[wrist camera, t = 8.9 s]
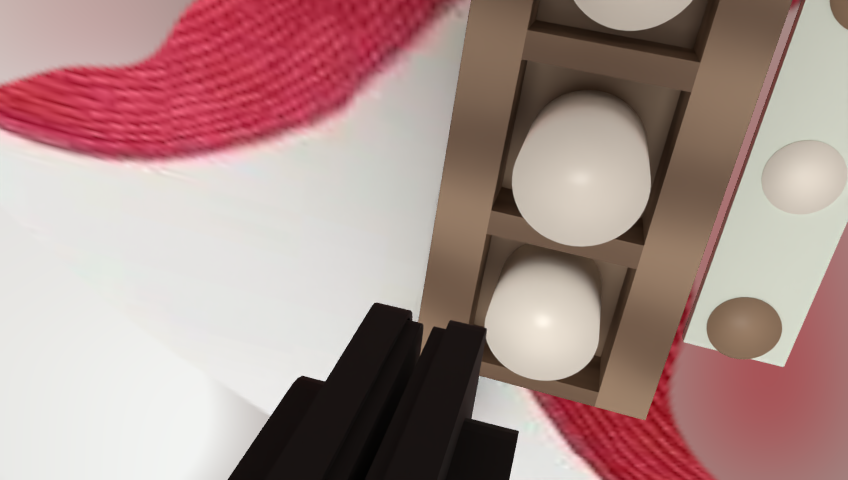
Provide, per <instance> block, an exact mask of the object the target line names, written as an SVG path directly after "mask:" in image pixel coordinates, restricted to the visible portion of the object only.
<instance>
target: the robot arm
mask: <svg viewBox="0 0 848 480" xmlns="http://www.w3.org/2000/svg"><path fill="white" fill-rule="evenodd" d="M423 329H424V328H423V323H418V322H414V321H412V312H411V311H410V310H406V309H402V308H398V307H393V306H389V305H385V304H380V303H374V304H373V305H372V307H371V308H370V310H369V312H368V313H367V315H366V317H365V318H364V320H363V321H362V323H361V325H360V326H359V328H358V330H357V331H356V333H355V334H354V336H353V338H352V339H351V341H350V343H349V344H348V346H347V347H346V349H345V351H344V352H343V354H342V356H341V357H340V359H339V360H338V362H337V364H336V365H335V367H334V369H333V370H332V372H331V373H330V375H329V377H328V378H327V380H326V382H325V381H321V380H317V379H313V378H309V377H305V376H301V377H299V378H297V380H296V381H295V382H294V383H293V384H292V386H291V387H290V389H289V390H288V391H287V393H286V394H285V396H284V397H283V399H282V400H281V402H280V403H279V405H278V406H277V408H276V409H275V411H274V412H273V414H272V415H271V416H270V418H269V419H268V421H267V422H266V424H265V425H264V427H263V428H262V430H261V431H260V433H259V435H258V436H257V437H256V439H255V440H254V442H253V443H252V444H251V446H250V448H249V449H248V451H247V452H246V453H245V455H244V456H243V458H242V459H241V461H240V462H239V464H238V465H237V467H236V468H235V470H234V471H233V473H232V474H231V475H230V477H229V478H228V480H509V478H510V473H511V468H512V463H513V458H514V453H515V448H516V443H517V438H518V433H519V431H516V430H512V429H508V428H504V427H501V426H497V425H493V424H489V423H485V422H481V421H477V420H473V419H471V418H472V412H473V407H474V401H475V395H476V390H477V384H478V379H479V373H480V368H481V362H482V357H483V351H484V346H485V340H486V334H487V328H483V327H479V326H475V325H470V324H466V323H462V322H458V321H453V320H450V321H449V323H448V325H447V327H446V329H444V328H440V327H435V326H434V327H433V328H432V330H431V332H430V335H429V337H428V339H427V341H426V344H425V346H424V348H423V350H422V353H421V345H422V337H423ZM420 353H421V355H420Z"/></svg>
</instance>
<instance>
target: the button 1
mask: <svg viewBox="0 0 848 480" xmlns="http://www.w3.org/2000/svg"><path fill="white" fill-rule="evenodd" d="M601 295H602V281H601V276H600V273H599V271H598V268H597V267H596V265H595V263H594V262H593V260H592V259H591V258H587V257H583V256H578V255H574V254H570V253H566V252H561V251H557V250H553V249H549V248H545V247H540V246H536V245H532V244H528V243H527V244H525V245H523V246H521V247H520V248H518V249H517V250H515V251H514V252H513V253H512V254H511V255H510V256H509V257H508V259H507V260H506V262H505V264H504V266H503V268H502V271H501V274H500V277H499V280H498V282H497V285H496V288H495V291H494V294H493V297H492V300H491V303H490V306H489V308H488V311H487V315H486V318H485V328H487V334H486V340H487V343H488V345H489V348H490V350H491V351H492V353H493V354H494V356H495V357H496V358H497V359H498V361H500V362H501V363H502V364H503V365H504V366H505V367H507V368H508V369H509V370H511V371H513V372H514V373H516V374H518V375H521V376H523V377H526V378H529V379H534V380H542V381H552V380H559V379H563V378H566V377H569V376H572V375H573V374H575V373H577V372H579V371H580V370H582V369H583V368H584V367H585V366H586V365H587V364H588V363H589V362H590V360H591V359H592V358H593V356H594V354H595V352H596V349H597V347H598V342H599V329H600V312H601Z"/></svg>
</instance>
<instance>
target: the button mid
mask: <svg viewBox="0 0 848 480" xmlns="http://www.w3.org/2000/svg"><path fill="white" fill-rule="evenodd" d="M650 188H651V175H650V165H649V155H648V145H647V137H646V132H645V129H644V126H643V124H642V122H641V120H640V118H639V117H638V115H637V114H636V112H635V111H634V110H633V109H632V108H631V107H630V106H629V105H628V104H627V103H625V102H624V101H623V100H621V99H619V98H618V97H616V96H614V95H611V94H609V93H605V92H602V91H596V90H580V91H574V92H570V93H567V94H564V95H562V96H560V97H558V98H556V99H554V100H553V101H551V102H550V103H549V104H547V105H546V106H545V107H544V108H543V109H542V110H541V111H540V112H539V114H538V115H537V116H536V118H535V120H534V121H533V123H532V125H531V127H530V130H529V132H528V134H527V137H526V139H525V141H524V143H523V146H522V148H521V150H520V152H519V155H518V157H517V159H516V161H515V165H514V168H513V175H512V189H513V195H514V199H515V202H516V205H517V207H518V209H519V211H520V213H521V214H522V216H523V218H524V219H525V220H526V221H527V223H528V224H529V225H530V226H531V227H532V228H533V229H534V230H536V231H537V232H538V233H540V234H541V235H543V236H544V237H546V238H548V239H550V240H552V241H555V242H557V243H561V244H564V245H570V246H581V247H583V246H593V245H599V244H602V243H605V242H608V241H611V240H613V239H615V238H617V237H618V236H620V235H622V234H623V233H625V232H626V231H627V230H628V229H630V228H631V227H632V226H633V225H634V224H635V223H636V221H637V220H638V219H639V217H640V216H641V214H642V213H643V211H644V209H645V207H646V204H647V202H648V199H649V194H650Z"/></svg>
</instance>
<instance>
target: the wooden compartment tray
mask: <svg viewBox="0 0 848 480" xmlns="http://www.w3.org/2000/svg"><path fill="white" fill-rule="evenodd" d="M791 3H792V0H692V2H691V3H690V4H689V5H688V6H687V7H686V8H685V9H684V10H683V11H682V12H680V13H679V14H678V15H676V16H675V17H674V18H672V19H670V20H668V21H667V22H665V23H663V24H660V25H658V26H655V27H652V28H648V29H644V30H637V31H624V30H617V29H613V28H609V27H606V26H604V25H601V24H599V23H597V22H596V21H594V20H592V19H591V18H590V17H588V16H587V15H586V14H585V13H584V12H583V11H582V10H581V9H580V8H579V7H578V6H577V4H576V3H575V1H574V0H471V4H470V10H469V16H468V22H467V28H466V34H465V40H464V46H463V53H462V59H461V65H460V71H459V77H458V83H457V89H456V95H455V101H454V107H453V113H452V120H451V126H450V132H449V138H448V144H447V150H446V156H445V162H444V168H443V174H442V180H441V187H440V193H439V199H438V205H437V211H436V217H435V223H434V229H433V235H432V241H431V247H430V254H429V260H428V266H427V272H426V278H425V284H424V290H423V296H422V302H421V308H420V314H419V321H418V323H423V328H424V329H423V337H422V345H421V353H422V350H423V348H424V346H425V344H426V341H427V339H428V337H429V335H430V332H431V330H432V328H433V327H434V326H435V327H440V328H444V329H446V327H447V325H448V323H449V321H450V320H453V321H458V322H462V323H466V324H470V325H475V326H479V327H483V328H485V318H486V315H487V311H488V308H489V306H490V303H491V300H492V297H493V294H494V291H495V288H496V285H497V282H498V280H499V277H500V274H501V271H502V268H503V266H504V264H505V262H506V260H507V259H508V257H509V256H510V255H511V254H512V253H513V252H514V251H515V250H517V249H518V248H520V247H521V246H523V245H525V244H527V243H528V244H532V245H536V246H540V247H545V248H549V249H553V250H557V251H561V252H566V253H570V254H574V255H578V256H583V257H587V258H591V259H592V260H593V262H594V263H595V265H596V267H597V268H598V271H599V273H600V276H601V281H602V295H601V312H600V329H599V342H598V347H597V349H596V352H595V354H594V356H593V358H592V359H591V360H590V362H589V363H588V364H587V365H586V366H585V367H584V368H583V369H582V370H580V371H579V372H577V373H575V374H573V375H572V376H569V377H566V378H563V379H559V380H552V381H542V380H534V379H529V378H526V377H523V376H521V375H518V374H516V373H514V372H513V371H511V370H509V369H508V368H507V367H505V366H504V365H503V364H502V363H501V362H500V361H498V359H497V358H496V357H495V356H494V354H493V353H492V351H491V350H490V348H489V345H488V343H487V340H485V346H484V351H483V357H482V362H481V368H480V373H479V376H483V377H487V378H490V379H494V380H498V381H501V382H505V383H509V384H513V385H516V386H520V387H524V388H528V389H531V390H535V391H539V392H542V393H546V394H550V395H554V396H557V397H561V398H565V399H568V400H572V401H576V402H580V403H583V404H587V405H591V406H594V407H598V408H602V409H606V410H609V411H613V412H617V413H620V414H624V415H628V416H632V417H635V418H639V419H643V420H645V419H646V417H647V414H648V411H649V408H650V405H651V402H652V399H653V397H654V394H655V391H656V388H657V385H658V382H659V379H660V377H661V374H662V371H663V368H664V365H665V362H666V359H667V357H668V354H669V351H670V348H671V345H672V342H673V339H674V337H675V334H676V331H677V328H678V325H679V322H680V319H681V317H682V314H683V311H684V308H685V305H686V302H687V300H688V297H689V294H690V291H691V288H692V285H693V282H694V280H695V277H696V274H697V271H698V268H699V265H700V262H701V260H702V257H703V254H704V251H705V248H706V245H707V242H708V240H709V237H710V234H711V231H712V228H713V225H714V222H715V220H716V217H717V214H718V211H719V208H720V205H721V202H722V200H723V197H724V194H725V191H726V188H727V185H728V183H729V179H730V177H731V174H732V171H733V168H734V165H735V163H736V160H737V157H738V154H739V151H740V148H741V145H742V142H743V140H744V137H745V134H746V131H747V128H748V125H749V123H750V120H751V117H752V114H753V111H754V108H755V105H756V102H757V100H758V97H759V94H760V91H761V88H762V86H763V83H764V79H765V77H766V74H767V71H768V68H769V65H770V63H771V60H772V57H773V54H774V51H775V48H776V46H777V43H778V40H779V37H780V34H781V31H782V28H783V26H784V23H785V19H786V17H787V14H788V11H789V8H790V6H791ZM580 90H596V91H602V92H605V93H609V94H611V95H614V96H616V97H618V98H619V99H621V100H623V101H624V102H625V103H627V104H628V105H629V106H630V107H631V108H632V109H633V110H634V111H635V112H636V114H637V115H638V117H639V118H640V120H641V122H642V124H643V126H644V129H645V132H646V137H647V145H648V155H649V165H650V175H651V188H650V194H649V199H648V202H647V204H646V207H645V209H644V211H643V213H642V214H641V216H640V217H639V219H638V220H637V221H636V223H635V224H634V225H633V226H632V227H631V228H630V229H628V230H627V231H626V232H625V233H623V234H622V235H620V236H618V237H617V238H615V239H613V240H611V241H608V242H605V243H602V244H599V245H593V246H583V247H581V246H570V245H564V244H561V243H557V242H555V241H552V240H550V239H548V238H546V237H544V236H543V235H541V234H540V233H538V232H537V231H536V230H534V229H533V228H532V227H531V226H530V225H529V224H528V223H527V221H526V220H525V219H524V218H523V216H522V214H521V213H520V211H519V209H518V207H517V205H516V202H515V199H514V195H513V189H512V175H513V168H514V165H515V161H516V159H517V157H518V155H519V152H520V150H521V148H522V146H523V143H524V141H525V139H526V137H527V134H528V132H529V130H530V127H531V125H532V123H533V121H534V120H535V118H536V116H537V115H538V114H539V112H540V111H541V110H542V109H543V108H544V107H545V106H546V105H547V104H549V103H550V102H551V101H553V100H554V99H556V98H558V97H560V96H562V95H564V94H567V93H570V92H574V91H580ZM421 353H420V355H421Z"/></svg>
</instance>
